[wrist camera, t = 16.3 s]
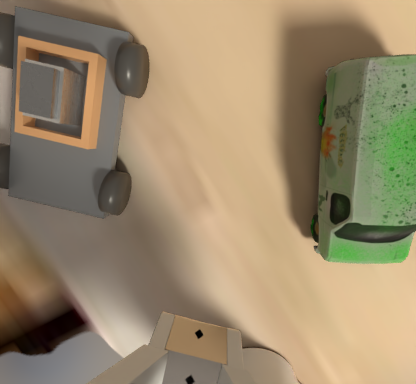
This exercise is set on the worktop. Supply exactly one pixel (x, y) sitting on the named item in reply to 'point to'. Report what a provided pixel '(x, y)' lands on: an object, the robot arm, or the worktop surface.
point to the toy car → (367, 161)
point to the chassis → (90, 113)
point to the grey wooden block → (50, 93)
